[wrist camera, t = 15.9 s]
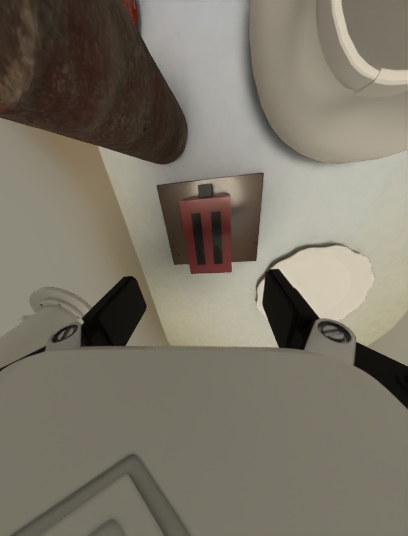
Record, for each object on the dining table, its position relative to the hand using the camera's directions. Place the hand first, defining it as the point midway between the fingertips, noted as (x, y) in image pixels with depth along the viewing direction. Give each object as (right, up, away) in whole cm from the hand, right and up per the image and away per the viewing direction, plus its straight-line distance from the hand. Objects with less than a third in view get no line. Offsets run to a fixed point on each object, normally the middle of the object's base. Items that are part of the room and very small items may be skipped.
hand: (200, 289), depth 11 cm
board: (+2, +9, +15) cm, 18 cm away
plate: (+22, -3, +20) cm, 30 cm away
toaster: (+1, +9, +14) cm, 17 cm away
